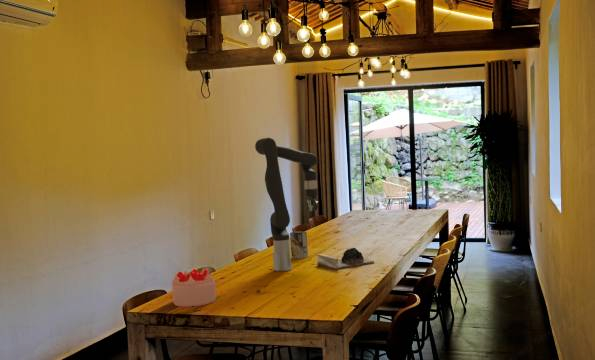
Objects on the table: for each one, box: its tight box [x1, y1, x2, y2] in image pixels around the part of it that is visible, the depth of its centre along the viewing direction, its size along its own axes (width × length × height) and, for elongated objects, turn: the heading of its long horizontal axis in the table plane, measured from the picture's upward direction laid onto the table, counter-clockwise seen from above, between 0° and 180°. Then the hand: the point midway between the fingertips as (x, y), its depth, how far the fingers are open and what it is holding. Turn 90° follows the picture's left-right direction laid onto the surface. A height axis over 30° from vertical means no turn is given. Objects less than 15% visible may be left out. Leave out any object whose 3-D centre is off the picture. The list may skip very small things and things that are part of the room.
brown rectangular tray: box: [316, 253, 375, 271], centre depth 349 cm, size 26×20×6 cm
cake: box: [171, 268, 217, 308], centre depth 282 cm, size 20×20×14 cm
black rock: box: [340, 247, 365, 264], centre depth 349 cm, size 13×14×10 cm
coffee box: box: [289, 231, 309, 259], centre depth 381 cm, size 9×6×16 cm
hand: (313, 217), depth 359 cm, fingers closed
